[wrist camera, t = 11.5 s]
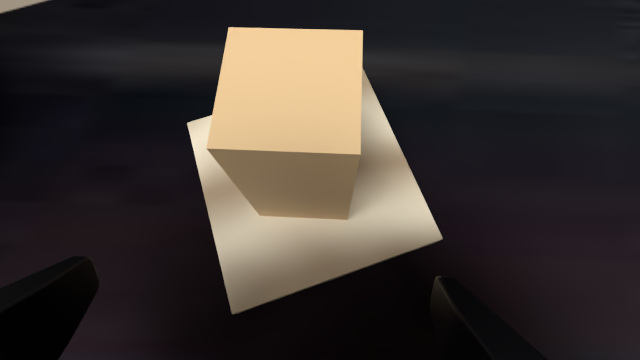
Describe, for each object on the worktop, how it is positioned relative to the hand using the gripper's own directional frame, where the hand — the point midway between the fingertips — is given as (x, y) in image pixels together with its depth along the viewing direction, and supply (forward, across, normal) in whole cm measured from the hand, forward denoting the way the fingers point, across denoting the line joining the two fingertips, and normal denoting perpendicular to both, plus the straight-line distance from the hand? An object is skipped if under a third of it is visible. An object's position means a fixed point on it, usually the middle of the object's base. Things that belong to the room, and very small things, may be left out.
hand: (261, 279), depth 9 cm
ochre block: (+12, 0, +2) cm, 12 cm away
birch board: (+12, 0, +3) cm, 13 cm away
